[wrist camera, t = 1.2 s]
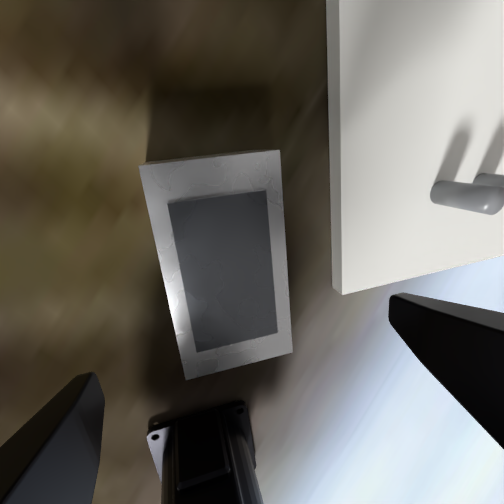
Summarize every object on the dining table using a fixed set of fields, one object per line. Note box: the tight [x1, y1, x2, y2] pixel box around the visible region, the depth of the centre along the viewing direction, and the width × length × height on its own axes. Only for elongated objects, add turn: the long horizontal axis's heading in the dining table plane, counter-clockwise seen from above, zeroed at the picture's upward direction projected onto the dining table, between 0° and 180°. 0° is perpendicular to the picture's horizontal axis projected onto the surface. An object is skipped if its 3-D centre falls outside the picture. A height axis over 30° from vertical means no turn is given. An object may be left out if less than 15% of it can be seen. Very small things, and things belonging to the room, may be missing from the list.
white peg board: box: [326, 0, 504, 295], centre depth 15 cm, size 24×16×4 cm, turn 7°
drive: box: [139, 150, 293, 380], centre depth 15 cm, size 10×6×4 cm, turn 6°
